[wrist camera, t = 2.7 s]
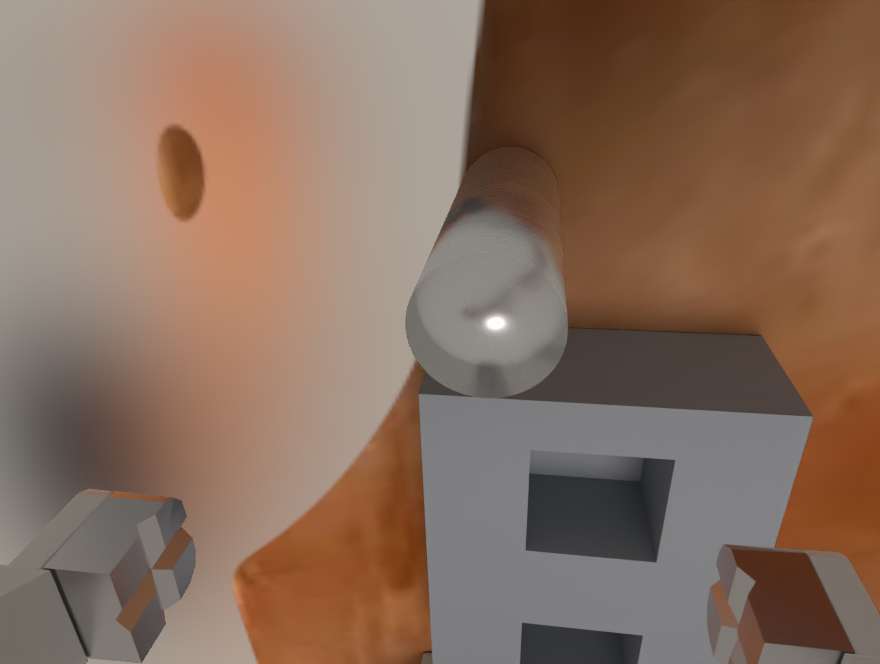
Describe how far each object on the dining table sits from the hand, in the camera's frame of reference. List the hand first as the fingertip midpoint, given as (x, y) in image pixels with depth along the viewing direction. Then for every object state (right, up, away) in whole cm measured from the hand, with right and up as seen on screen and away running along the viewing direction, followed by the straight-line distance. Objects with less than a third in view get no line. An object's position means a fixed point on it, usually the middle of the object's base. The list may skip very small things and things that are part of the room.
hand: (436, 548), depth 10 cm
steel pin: (+3, +9, +17) cm, 19 cm away
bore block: (+7, -5, +23) cm, 25 cm away
